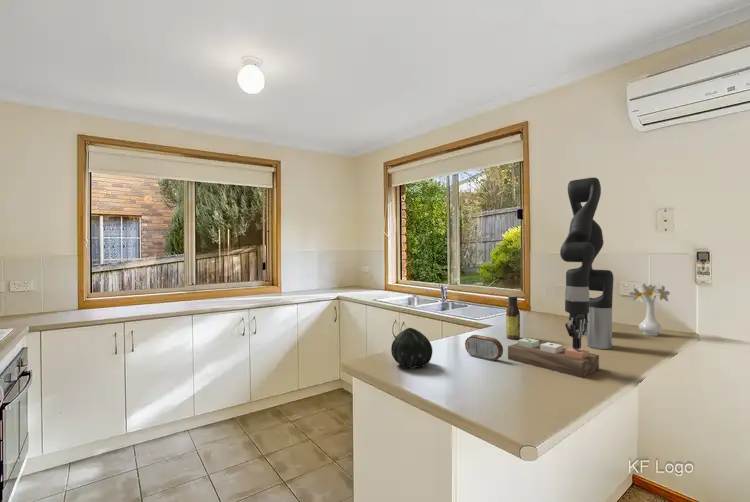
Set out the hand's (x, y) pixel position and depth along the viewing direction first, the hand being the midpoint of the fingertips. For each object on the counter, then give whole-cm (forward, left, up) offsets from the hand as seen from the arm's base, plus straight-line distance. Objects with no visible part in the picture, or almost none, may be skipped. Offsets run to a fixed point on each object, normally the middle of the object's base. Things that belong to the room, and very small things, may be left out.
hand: (576, 348), depth 133 cm
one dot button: (0, -9, -4) cm, 10 cm away
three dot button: (0, 0, -4) cm, 4 cm away
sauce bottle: (-25, -40, -8) cm, 47 cm away
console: (0, -9, -8) cm, 12 cm away
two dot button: (0, -18, -4) cm, 18 cm away
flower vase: (-83, -1, -8) cm, 83 cm away
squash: (+41, -41, -8) cm, 58 cm away
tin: (+13, -30, -8) cm, 33 cm away
